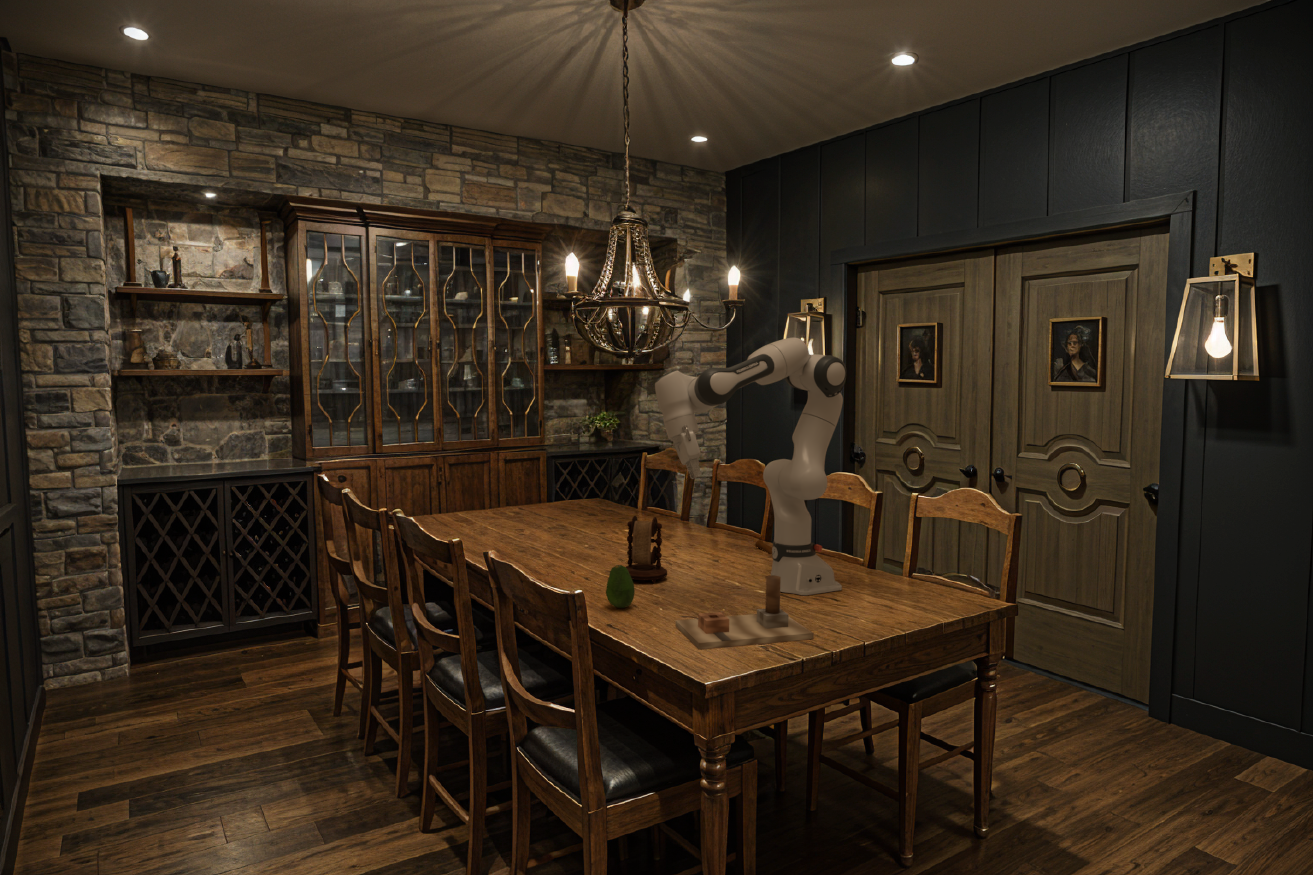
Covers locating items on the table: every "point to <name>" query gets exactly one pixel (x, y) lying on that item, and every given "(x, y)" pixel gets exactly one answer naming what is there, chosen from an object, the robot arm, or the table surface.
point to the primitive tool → (763, 546)
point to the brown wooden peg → (773, 594)
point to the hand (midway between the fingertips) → (696, 477)
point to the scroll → (644, 550)
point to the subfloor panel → (742, 629)
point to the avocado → (620, 587)
